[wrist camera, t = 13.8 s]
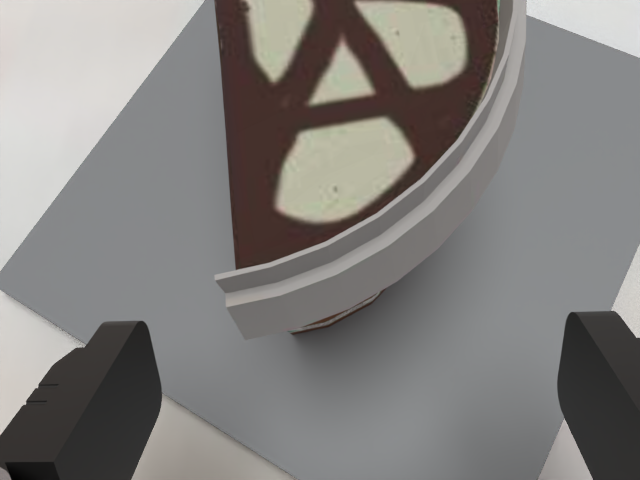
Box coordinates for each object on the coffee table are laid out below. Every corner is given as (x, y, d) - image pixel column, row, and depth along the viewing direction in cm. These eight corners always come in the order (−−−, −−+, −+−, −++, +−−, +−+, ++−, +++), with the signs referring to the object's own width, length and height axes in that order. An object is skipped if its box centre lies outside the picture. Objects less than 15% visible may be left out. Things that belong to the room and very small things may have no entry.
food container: (498, 357, 17) (655, 258, 8) (297, 383, 18) (216, 316, 8) (426, 27, 22) (472, -296, 12) (264, 50, 22) (184, -248, 12)
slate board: (8, 291, 20) (-9, 283, 19) (272, -64, 25) (268, -84, 24) (479, 589, 16) (485, 598, 15) (693, 100, 21) (708, 84, 20)
